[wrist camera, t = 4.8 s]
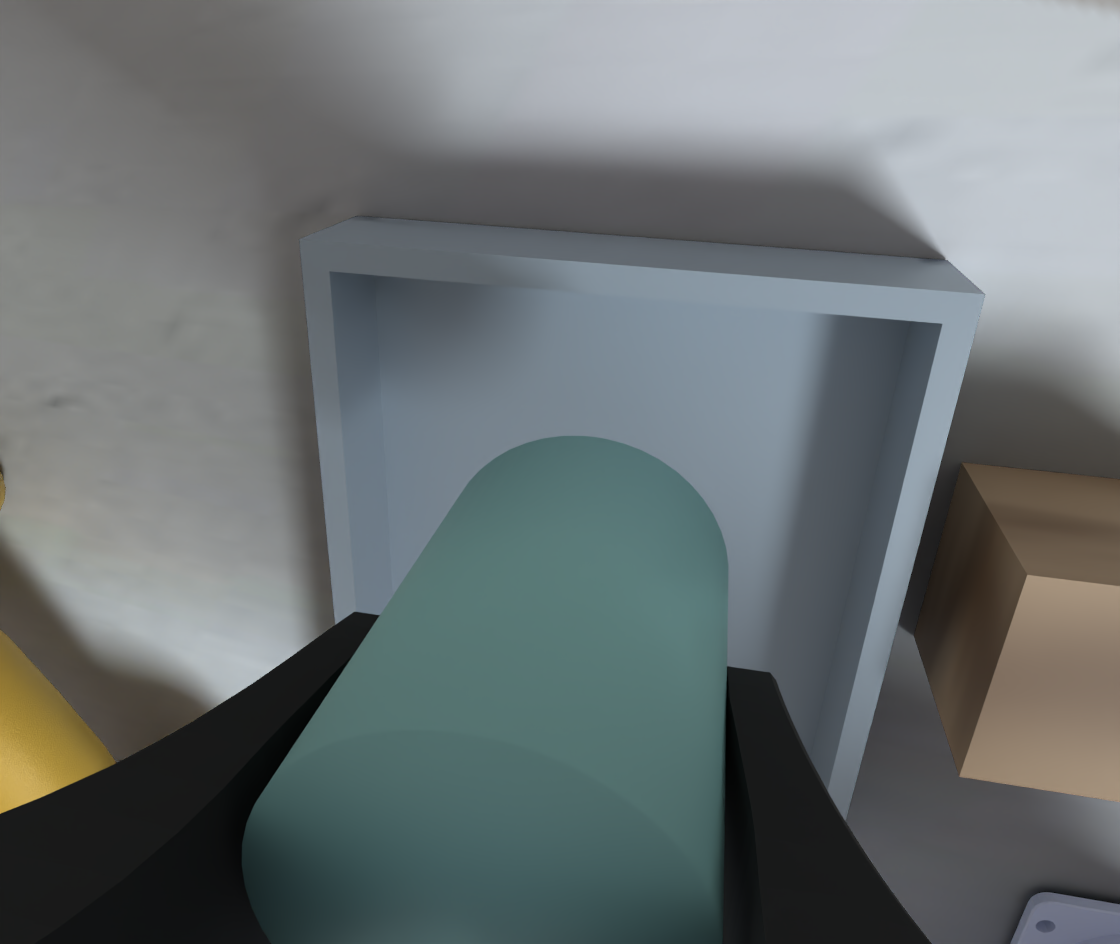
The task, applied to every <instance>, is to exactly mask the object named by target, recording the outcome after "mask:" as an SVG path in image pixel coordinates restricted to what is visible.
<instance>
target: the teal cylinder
mask: <svg viewBox="0 0 1120 944" xmlns="http://www.w3.org/2000/svg"><path fill="white" fill-rule="evenodd" d="M728 569H729V564H728V557H727V550H726V546H725V542H724V539H723V536H722V532H721V530H720V528H719V525H718V523H717V521H716V519H715V517H714V515H713V513H712V512H711V510H710V508H709V507H708V505H707V504H706V502H705V501H704V499H703V498H702V497H701V496H700V494H699V493H698V492H697V491H696V490H695V489H694V487H693V486H692V485H691V484H690V483H689V482H688V481H687V480H685V479H684V478H683V477H682V476H681V475H680V474H679V473H678V472H677V471H675V470H674V469H672V468H671V467H669V466H668V465H667V464H665V463H664V462H662V461H661V460H659V459H657V458H655V457H654V456H652V455H650V454H648V453H646V452H644V451H642V450H640V449H637V448H634V447H632V446H629V445H627V444H624V443H620V442H616V441H612V440H608V439H604V438H597V437H589V436H558V437H550V438H543V439H539V440H535V441H532V442H528V443H525V444H522V445H520V446H517V447H515V448H512V449H510V450H508V451H506V452H505V453H503V454H501V455H499V456H498V457H496V458H494V459H493V460H492V461H490V462H489V463H488V464H487V465H485V466H484V467H483V468H482V469H480V470H479V471H478V473H477V474H476V475H475V476H474V477H473V478H472V479H471V480H470V481H469V482H468V484H467V485H466V487H465V488H464V490H463V491H462V493H461V494H460V495H459V497H458V498H457V500H456V501H455V503H454V504H453V506H452V507H451V509H450V510H449V512H448V514H447V515H446V517H445V518H444V520H443V521H442V523H441V524H440V526H439V527H438V529H437V530H436V532H435V533H434V535H433V536H432V538H431V539H430V541H429V542H428V544H427V545H426V547H425V548H424V550H423V551H422V553H421V554H420V556H419V557H418V559H417V560H416V562H415V563H414V565H413V566H412V568H411V569H410V571H409V572H408V574H407V575H406V577H405V578H404V580H403V581H402V583H401V584H400V586H399V587H398V589H397V590H396V592H395V593H394V595H393V596H392V598H391V599H390V601H389V602H388V604H387V605H386V607H385V608H384V610H383V611H382V613H381V614H380V616H379V617H378V619H377V620H376V622H375V623H374V625H373V626H372V628H371V629H370V631H369V632H368V634H367V635H366V637H365V638H364V640H363V641H362V643H361V645H360V646H359V648H358V649H357V651H356V652H355V654H354V655H353V657H352V658H351V660H350V661H349V663H348V664H347V666H346V667H345V669H344V670H343V672H342V673H341V675H340V676H339V678H338V679H337V681H336V682H335V684H334V685H333V687H332V688H331V690H330V691H329V693H328V694H327V696H326V697H325V699H324V700H323V702H322V703H321V705H320V706H319V708H318V709H317V711H316V712H315V714H314V715H313V717H312V718H311V720H310V721H309V723H308V724H307V726H306V727H305V729H304V730H303V732H302V733H301V735H300V736H299V738H298V739H297V741H296V742H295V744H294V745H293V747H292V748H291V750H290V751H289V753H288V754H287V756H286V757H285V759H284V760H283V762H282V763H281V765H280V766H279V768H278V769H277V771H276V772H275V774H274V776H273V777H272V779H271V780H270V782H269V783H268V785H267V786H266V788H265V789H264V791H263V792H262V794H261V795H260V797H259V798H258V800H257V801H256V803H255V805H254V807H253V809H252V811H251V814H250V816H249V818H248V821H247V823H246V828H245V832H244V837H243V842H242V870H243V877H244V883H245V888H246V891H247V894H248V897H249V901H250V904H251V907H252V909H253V911H254V913H255V915H256V918H257V920H258V922H259V924H260V926H261V928H262V930H263V931H264V933H265V935H266V936H267V938H268V939H269V941H270V942H271V944H723V899H724V834H725V769H726V700H727V639H728Z"/></svg>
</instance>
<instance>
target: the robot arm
mask: <svg viewBox="0 0 1120 944" xmlns="http://www.w3.org/2000/svg"><path fill="white" fill-rule="evenodd" d="M379 616H380V615H375V614H369V613H362V612H353V613H352V614H350V615H349V616H347V617H346V618H344V619H343V620H341V621H340V622H339V623H337V624H336V625H334V626H333V627H332V628H330V629H329V630H327V631H326V632H325V633H323V634H322V635H321V636H319V637H318V638H316V639H315V640H314V641H312V642H311V643H310V644H308V645H307V646H305V647H304V648H303V649H301V650H300V651H298V652H297V653H296V654H294V655H293V656H292V657H290V658H289V659H287V660H286V661H284V662H283V663H282V664H280V665H279V666H277V667H276V668H274V669H273V670H271V671H270V672H269V673H267V674H266V675H264V676H263V677H261V678H260V679H259V680H257V681H256V682H254V683H253V684H251V685H250V686H248V687H247V688H245V689H244V690H242V691H240V692H239V693H237V694H236V695H234V696H233V697H231V698H229V699H228V700H226V701H225V702H223V703H221V704H220V705H218V706H217V707H215V708H214V709H212V710H210V711H209V712H207V713H206V714H204V715H203V716H201V717H199V718H198V719H196V720H195V721H193V722H191V723H190V724H188V725H186V726H185V727H183V728H181V729H179V730H178V731H176V732H174V733H172V734H171V735H169V736H167V737H165V738H163V739H162V740H160V741H158V742H156V743H154V744H152V745H150V746H148V747H147V748H145V749H143V750H141V751H139V752H137V753H135V754H133V755H131V756H129V757H128V758H126V759H124V760H122V761H120V762H118V763H116V764H114V765H111V766H109V767H107V768H105V769H103V770H101V771H98V772H96V773H94V774H92V775H89V776H87V777H85V778H83V779H81V780H78V781H76V782H74V783H72V784H70V785H67V786H65V787H63V788H61V789H59V790H56V791H54V792H52V793H50V794H48V795H45V796H43V797H41V798H38V799H36V800H33V801H31V802H28V803H26V804H23V805H21V806H18V807H16V808H13V809H11V810H8V811H6V812H3V813H1V814H0V944H271V942H270V941H269V939H268V938H267V936H266V935H265V933H264V931H263V930H262V928H261V926H260V924H259V922H258V920H257V918H256V915H255V913H254V911H253V909H252V907H251V904H250V901H249V897H248V894H247V891H246V888H245V883H244V877H243V870H242V842H243V837H244V832H245V828H246V823H247V821H248V818H249V816H250V814H251V811H252V809H253V807H254V805H255V803H256V801H257V800H258V798H259V797H260V795H261V794H262V792H263V791H264V789H265V788H266V786H267V785H268V783H269V782H270V780H271V779H272V777H273V776H274V774H275V772H276V771H277V769H278V768H279V766H280V765H281V763H282V762H283V760H284V759H285V757H286V756H287V754H288V753H289V751H290V750H291V748H292V747H293V745H294V744H295V742H296V741H297V739H298V738H299V736H300V735H301V733H302V732H303V730H304V729H305V727H306V726H307V724H308V723H309V721H310V720H311V718H312V717H313V715H314V714H315V712H316V711H317V709H318V708H319V706H320V705H321V703H322V702H323V700H324V699H325V697H326V696H327V694H328V693H329V691H330V690H331V688H332V687H333V685H334V684H335V682H336V681H337V679H338V678H339V676H340V675H341V673H342V672H343V670H344V669H345V667H346V666H347V664H348V663H349V661H350V660H351V658H352V657H353V655H354V654H355V652H356V651H357V649H358V648H359V646H360V645H361V643H362V641H363V640H364V638H365V637H366V635H367V634H368V632H369V631H370V629H371V628H372V626H373V625H374V623H375V622H376V620H377V619H378V617H379ZM723 944H931V942H930V941H929V940H928V939H927V937H926V936H925V935H924V933H923V932H922V931H921V930H920V928H919V927H918V926H917V924H916V923H915V922H914V921H913V919H912V918H911V917H910V915H909V914H908V913H907V911H906V910H905V909H904V908H903V906H902V905H901V904H900V902H899V901H898V899H897V898H896V897H895V895H894V894H893V892H892V891H891V890H890V888H889V887H888V886H887V884H886V883H885V881H884V880H883V879H882V877H881V876H880V874H879V873H878V871H877V870H876V868H875V867H874V866H873V864H872V863H871V861H870V860H869V858H868V857H867V855H866V854H865V852H864V850H863V849H862V847H861V846H860V844H859V843H858V841H857V840H856V838H855V836H854V835H853V833H852V831H851V830H850V828H849V827H848V825H847V823H846V822H845V820H844V818H843V817H842V815H841V814H840V812H839V810H838V808H837V807H836V805H835V803H834V801H833V800H832V798H831V796H830V794H829V793H828V791H827V789H826V787H825V785H824V783H823V781H822V780H821V778H820V776H819V774H818V772H817V770H816V768H815V766H814V765H813V763H812V761H811V759H810V757H809V755H808V753H807V751H806V749H805V747H804V745H803V743H802V741H801V739H800V736H799V734H798V732H797V730H796V728H795V726H794V724H793V721H792V719H791V717H790V714H789V712H788V710H787V707H786V705H785V702H784V700H783V697H782V695H781V692H780V690H779V687H778V684H777V681H776V679H775V678H774V677H773V676H772V674H771V673H770V672H764V671H757V670H750V669H743V668H736V667H730V666H727V700H726V769H725V834H724V899H723ZM1010 944H1120V904H1114V903H1109V902H1103V901H1097V900H1091V899H1086V898H1080V897H1074V896H1068V895H1063V894H1057V893H1051V892H1042V893H1037V894H1036V895H1034V896H1032V897H1031V898H1030V900H1029V901H1028V903H1027V906H1026V908H1025V910H1024V913H1023V915H1022V917H1021V920H1020V922H1019V924H1018V927H1017V929H1016V932H1015V934H1014V936H1013V939H1012V941H1011V943H1010Z"/></svg>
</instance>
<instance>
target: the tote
mask: <svg viewBox="0 0 1120 944" xmlns="http://www.w3.org/2000/svg"><path fill="white" fill-rule="evenodd" d="M299 244H300V255H301V266H302V276H303V287H304V298H305V308H306V319H307V330H308V340H309V351H310V362H311V372H312V383H313V394H314V405H315V415H316V426H317V437H318V447H319V458H320V469H321V479H322V490H323V501H324V511H325V522H326V533H327V543H328V554H329V565H330V575H331V586H332V597H333V607H334V618H335V625H336V624H337V623H339V622H340V621H341V620H343V619H344V618H346V617H347V616H349V615H350V614H352V613H353V612H362V613H369V614H375V615H380V614H381V613H382V611H383V610H384V608H385V607H386V605H387V604H388V602H389V601H390V599H391V598H392V596H393V595H394V593H395V592H396V590H397V589H398V587H399V586H400V584H401V583H402V581H403V580H404V578H405V577H406V575H407V574H408V572H409V571H410V569H411V568H412V566H413V565H414V563H415V562H416V560H417V559H418V557H419V556H420V554H421V553H422V551H423V550H424V548H425V547H426V545H427V544H428V542H429V541H430V539H431V538H432V536H433V535H434V533H435V532H436V530H437V529H438V527H439V526H440V524H441V523H442V521H443V520H444V518H445V517H446V515H447V514H448V512H449V510H450V509H451V507H452V506H453V504H454V503H455V501H456V500H457V498H458V497H459V495H460V494H461V493H462V491H463V490H464V488H465V487H466V485H467V484H468V482H469V481H470V480H471V479H472V478H473V477H474V476H475V475H476V474H477V473H478V471H479V470H480V469H482V468H483V467H484V466H485V465H487V464H488V463H489V462H490V461H492V460H493V459H494V458H496V457H498V456H499V455H501V454H503V453H505V452H506V451H508V450H510V449H512V448H515V447H517V446H520V445H522V444H525V443H528V442H532V441H535V440H539V439H543V438H550V437H558V436H589V437H597V438H604V439H608V440H612V441H616V442H620V443H624V444H627V445H629V446H632V447H634V448H637V449H640V450H642V451H644V452H646V453H648V454H650V455H652V456H654V457H655V458H657V459H659V460H661V461H662V462H664V463H665V464H667V465H668V466H669V467H671V468H672V469H674V470H675V471H677V472H678V473H679V474H680V475H681V476H682V477H683V478H684V479H685V480H687V481H688V482H689V483H690V484H691V485H692V486H693V487H694V489H695V490H696V491H697V492H698V493H699V494H700V496H701V497H702V498H703V499H704V501H705V502H706V504H707V505H708V507H709V508H710V510H711V512H712V513H713V515H714V517H715V519H716V521H717V523H718V525H719V528H720V530H721V532H722V536H723V539H724V542H725V546H726V550H727V557H728V564H729V569H728V639H727V666H730V667H736V668H743V669H750V670H757V671H764V672H770V673H771V674H772V676H773V677H774V678H775V679H776V681H777V684H778V687H779V690H780V692H781V695H782V697H783V700H784V702H785V705H786V707H787V710H788V712H789V714H790V717H791V719H792V721H793V724H794V726H795V728H796V730H797V732H798V734H799V736H800V739H801V741H802V743H803V745H804V747H805V749H806V751H807V753H808V755H809V757H810V759H811V761H812V763H813V765H814V766H815V768H816V770H817V772H818V774H819V776H820V778H821V780H822V781H823V783H824V785H825V787H826V789H827V791H828V793H829V794H830V796H831V798H832V800H833V801H834V803H835V805H836V807H837V808H838V810H839V812H840V814H841V815H842V817H843V818H844V820H845V822H846V818H847V814H848V810H849V807H850V803H851V799H852V795H853V791H854V788H855V784H856V780H857V776H858V773H859V769H860V765H861V761H862V758H863V754H864V750H865V746H866V742H867V739H868V735H869V731H870V727H871V724H872V720H873V716H874V712H875V709H876V705H877V701H878V697H879V693H880V690H881V686H882V682H883V678H884V675H885V671H886V667H887V663H888V660H889V656H890V652H891V648H892V644H893V641H894V637H895V633H896V629H897V626H898V622H899V618H900V614H901V611H902V607H903V603H904V599H905V595H906V592H907V588H908V584H909V580H910V577H911V573H912V569H913V565H914V562H915V558H916V554H917V550H918V547H919V543H920V539H921V535H922V531H923V528H924V524H925V520H926V516H927V513H928V509H929V505H930V501H931V498H932V494H933V490H934V486H935V482H936V479H937V475H938V471H939V467H940V464H941V460H942V456H943V452H944V449H945V445H946V441H947V437H948V433H949V430H950V426H951V422H952V418H953V415H954V411H955V407H956V403H957V400H958V396H959V392H960V388H961V384H962V381H963V377H964V373H965V369H966V366H967V362H968V358H969V354H970V351H971V347H972V343H973V339H974V335H975V332H976V328H977V324H978V320H979V317H980V313H981V309H982V305H983V302H984V298H985V294H984V293H983V292H982V291H981V290H980V289H979V288H978V287H977V286H976V285H974V284H973V283H972V282H971V281H970V280H969V279H968V278H967V277H966V276H964V275H963V274H962V273H961V272H960V271H959V270H958V269H957V268H955V267H954V266H953V265H952V264H951V263H950V262H949V261H948V260H937V259H924V258H911V257H897V256H884V255H871V254H857V253H844V252H831V251H818V250H804V249H791V248H778V247H764V246H751V245H738V244H724V243H711V242H698V241H685V240H671V239H658V238H645V237H631V236H618V235H605V234H592V233H578V232H565V231H552V230H538V229H525V228H512V227H498V226H485V225H472V224H459V223H445V222H432V221H419V220H405V219H392V218H379V217H365V216H355V217H353V218H350V219H348V220H345V221H343V222H340V223H338V224H336V225H333V226H331V227H328V228H326V229H323V230H321V231H318V232H316V233H313V234H311V235H308V236H306V237H304V238H301V239H299Z"/></svg>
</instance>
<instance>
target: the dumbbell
mask: <svg viewBox="0 0 1120 944" xmlns="http://www.w3.org/2000/svg"><path fill="white" fill-rule="evenodd" d="M5 488H6V487H5V484H4V480H3V477H2V474H1V472H0V510H1V507H2V505H3V503H4V499H5ZM114 764H116V762H115V760H114V759H113V757H112V756H111V754H110V753H109V751H108V750H107V749H106V747H105V746H104V744H103V743H102V742H101V741H100V739H99V738H98V737H97V736H96V735H95V733H94V732H93V731H92V730H91V729H90V728H89V726H88V725H87V724H86V723H85V722H84V721H83V720H82V718H81V717H80V716H79V715H78V714H77V713H76V711H75V710H74V709H73V708H72V707H71V705H70V704H69V703H68V702H67V701H66V700H65V698H64V697H63V696H62V695H61V694H60V693H59V691H58V690H57V689H56V688H55V687H54V686H53V685H52V684H51V683H50V682H49V680H48V679H47V678H46V677H45V676H44V675H43V674H42V673H41V672H40V671H39V670H38V668H37V667H36V666H35V665H34V664H33V663H32V662H31V661H30V660H29V659H28V658H27V656H26V655H25V654H24V653H23V652H22V651H21V650H20V649H19V648H18V647H17V645H16V644H15V643H14V642H13V641H12V640H11V639H10V638H9V637H8V636H7V635H6V634H5V633H4V632H2V631H1V630H0V814H1V813H3V812H6V811H8V810H11V809H13V808H16V807H18V806H21V805H23V804H26V803H28V802H31V801H33V800H36V799H38V798H41V797H43V796H45V795H48V794H50V793H52V792H54V791H56V790H59V789H61V788H63V787H65V786H67V785H70V784H72V783H74V782H76V781H78V780H81V779H83V778H85V777H87V776H89V775H92V774H94V773H96V772H98V771H101V770H103V769H105V768H107V767H109V766H111V765H114Z"/></svg>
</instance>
